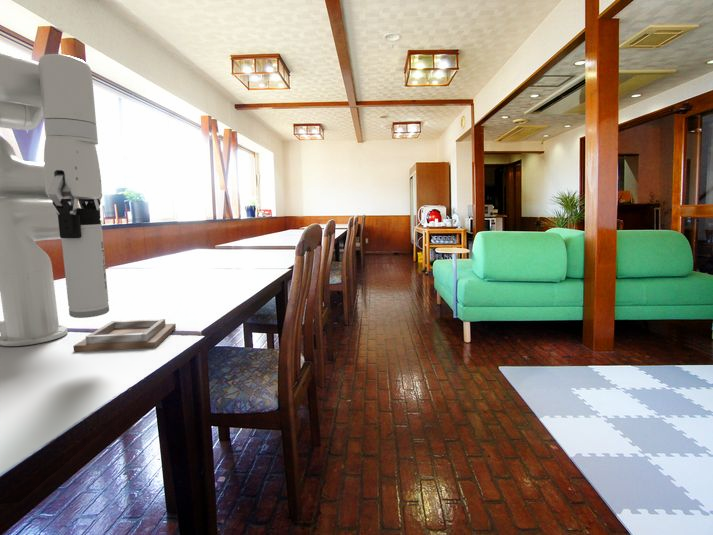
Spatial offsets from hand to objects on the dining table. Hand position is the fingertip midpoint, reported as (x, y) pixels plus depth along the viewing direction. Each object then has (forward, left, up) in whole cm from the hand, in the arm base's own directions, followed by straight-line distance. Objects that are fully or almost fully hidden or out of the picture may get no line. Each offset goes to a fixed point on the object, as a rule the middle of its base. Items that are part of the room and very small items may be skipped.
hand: (81, 235), depth 74 cm
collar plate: (0, +15, -24) cm, 28 cm away
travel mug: (0, 0, -15) cm, 15 cm away
